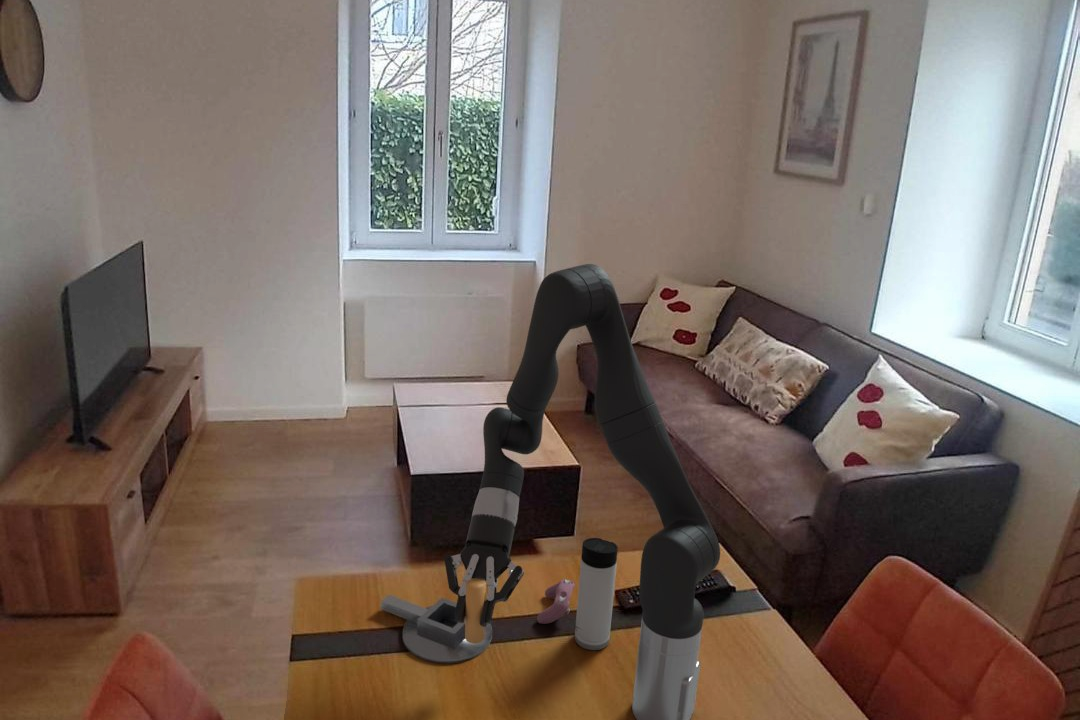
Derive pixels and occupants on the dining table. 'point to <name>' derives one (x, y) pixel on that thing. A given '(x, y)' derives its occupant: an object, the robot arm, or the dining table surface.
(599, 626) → the travel mug
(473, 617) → the wedge pin
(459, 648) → the grey handled frame
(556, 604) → the video game controller
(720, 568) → the dining table surface
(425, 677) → the dining table surface
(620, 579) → the dining table surface
